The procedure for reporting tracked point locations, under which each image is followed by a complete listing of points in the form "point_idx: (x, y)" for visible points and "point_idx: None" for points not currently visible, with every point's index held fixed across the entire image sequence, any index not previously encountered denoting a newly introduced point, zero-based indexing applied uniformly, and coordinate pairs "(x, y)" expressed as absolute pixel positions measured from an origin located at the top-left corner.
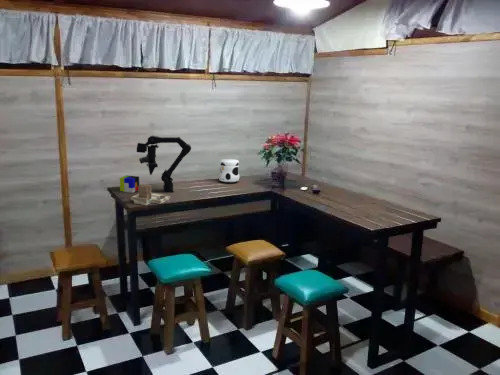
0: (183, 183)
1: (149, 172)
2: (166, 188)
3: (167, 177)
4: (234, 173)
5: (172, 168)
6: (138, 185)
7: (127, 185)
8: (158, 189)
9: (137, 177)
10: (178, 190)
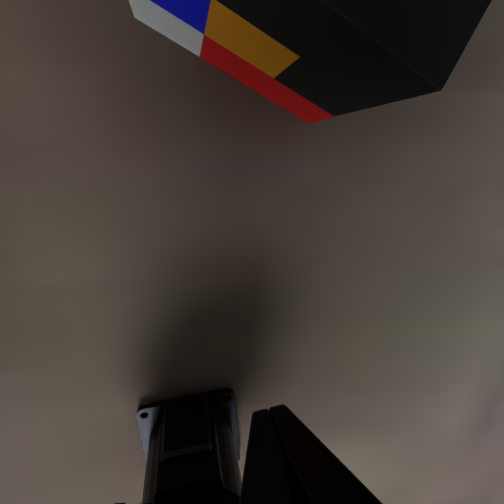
0: (461, 493)
1: (306, 449)
2: (151, 454)
3: None
4: None
5: None
6: (314, 103)
7: None
8: (288, 336)
9: (366, 41)
10: None
